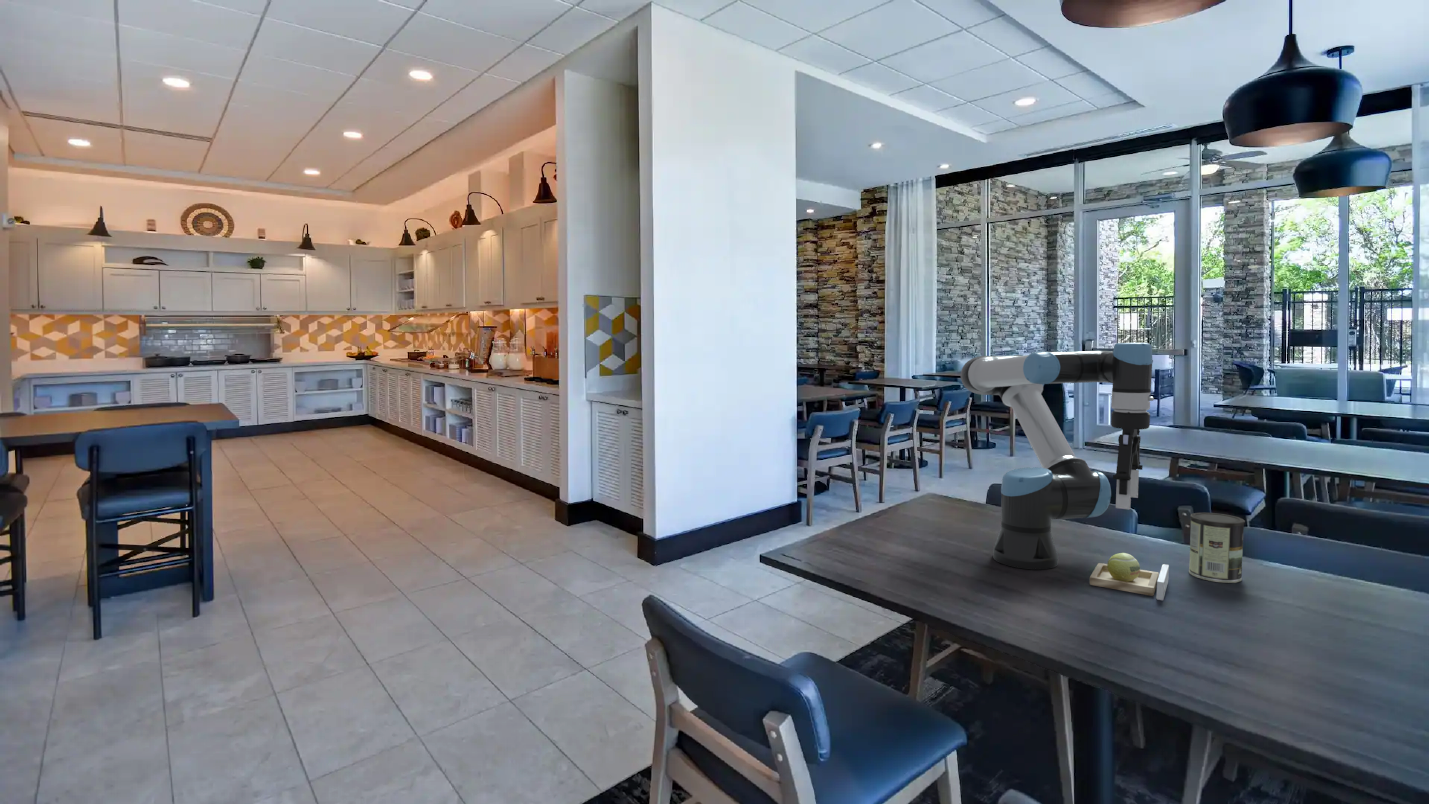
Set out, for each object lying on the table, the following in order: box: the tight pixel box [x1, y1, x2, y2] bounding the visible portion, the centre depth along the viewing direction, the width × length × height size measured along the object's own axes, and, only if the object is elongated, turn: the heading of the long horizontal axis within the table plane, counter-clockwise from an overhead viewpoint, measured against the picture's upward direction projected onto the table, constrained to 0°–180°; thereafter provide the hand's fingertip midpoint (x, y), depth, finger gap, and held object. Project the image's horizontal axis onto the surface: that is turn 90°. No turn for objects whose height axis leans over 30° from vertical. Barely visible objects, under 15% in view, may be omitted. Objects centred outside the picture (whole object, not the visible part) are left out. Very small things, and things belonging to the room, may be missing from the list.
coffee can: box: [1188, 512, 1246, 584], centre depth 161 cm, size 10×10×14 cm
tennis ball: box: [1106, 552, 1141, 582], centre depth 158 cm, size 6×7×7 cm
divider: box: [1155, 563, 1170, 601], centre depth 153 cm, size 1×14×4 cm, turn 143°
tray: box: [1089, 562, 1160, 597], centre depth 158 cm, size 12×12×2 cm
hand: (1127, 502), depth 157 cm, fingers open, 13 cm apart
